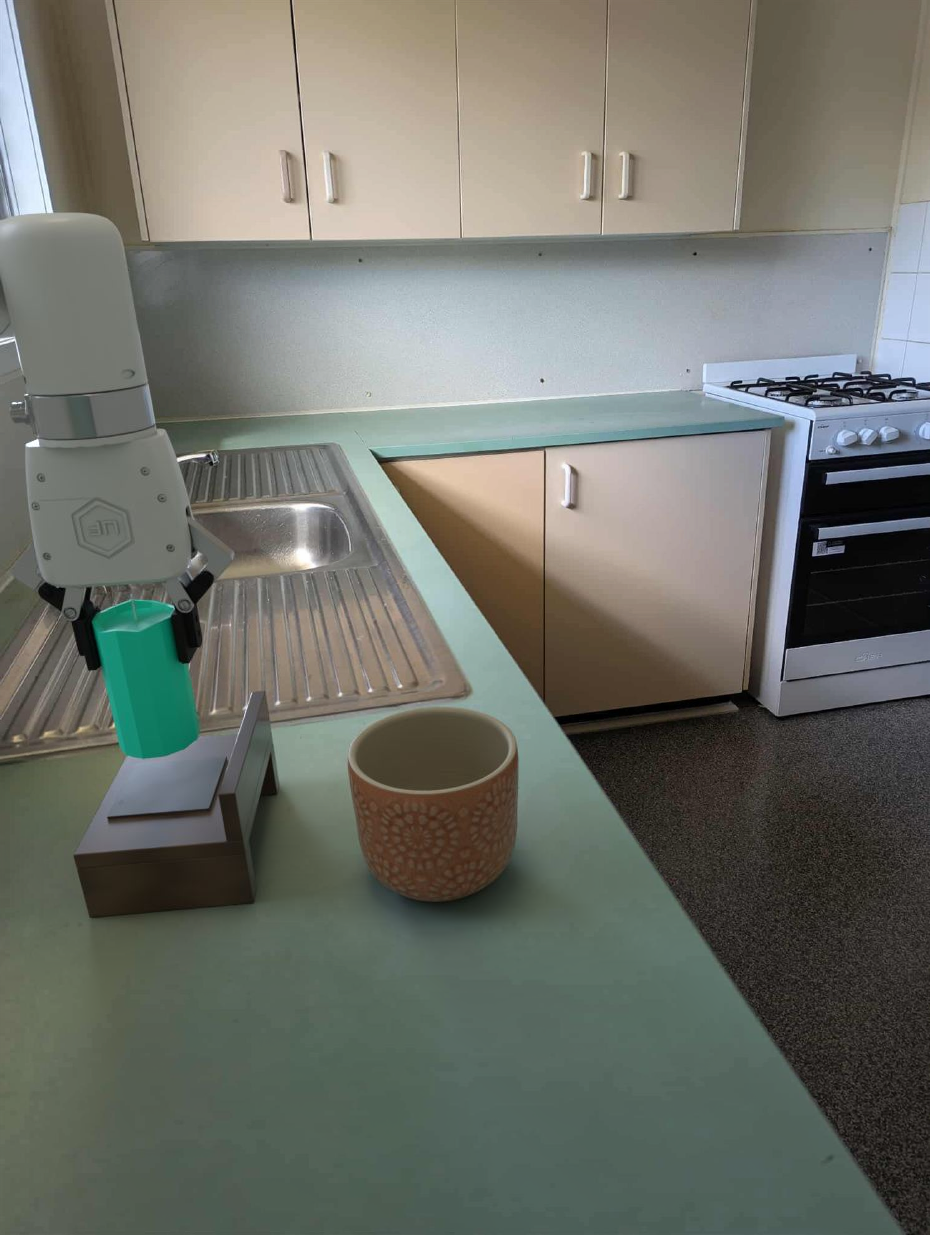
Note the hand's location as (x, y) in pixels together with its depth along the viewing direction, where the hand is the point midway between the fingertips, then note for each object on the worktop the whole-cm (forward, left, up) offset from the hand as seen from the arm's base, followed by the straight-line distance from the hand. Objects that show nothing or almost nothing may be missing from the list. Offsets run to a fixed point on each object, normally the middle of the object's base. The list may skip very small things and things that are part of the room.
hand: (144, 657), depth 65 cm
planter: (+21, -6, -17) cm, 28 cm away
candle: (0, 0, -7) cm, 7 cm away
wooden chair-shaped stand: (+1, 0, -17) cm, 17 cm away
